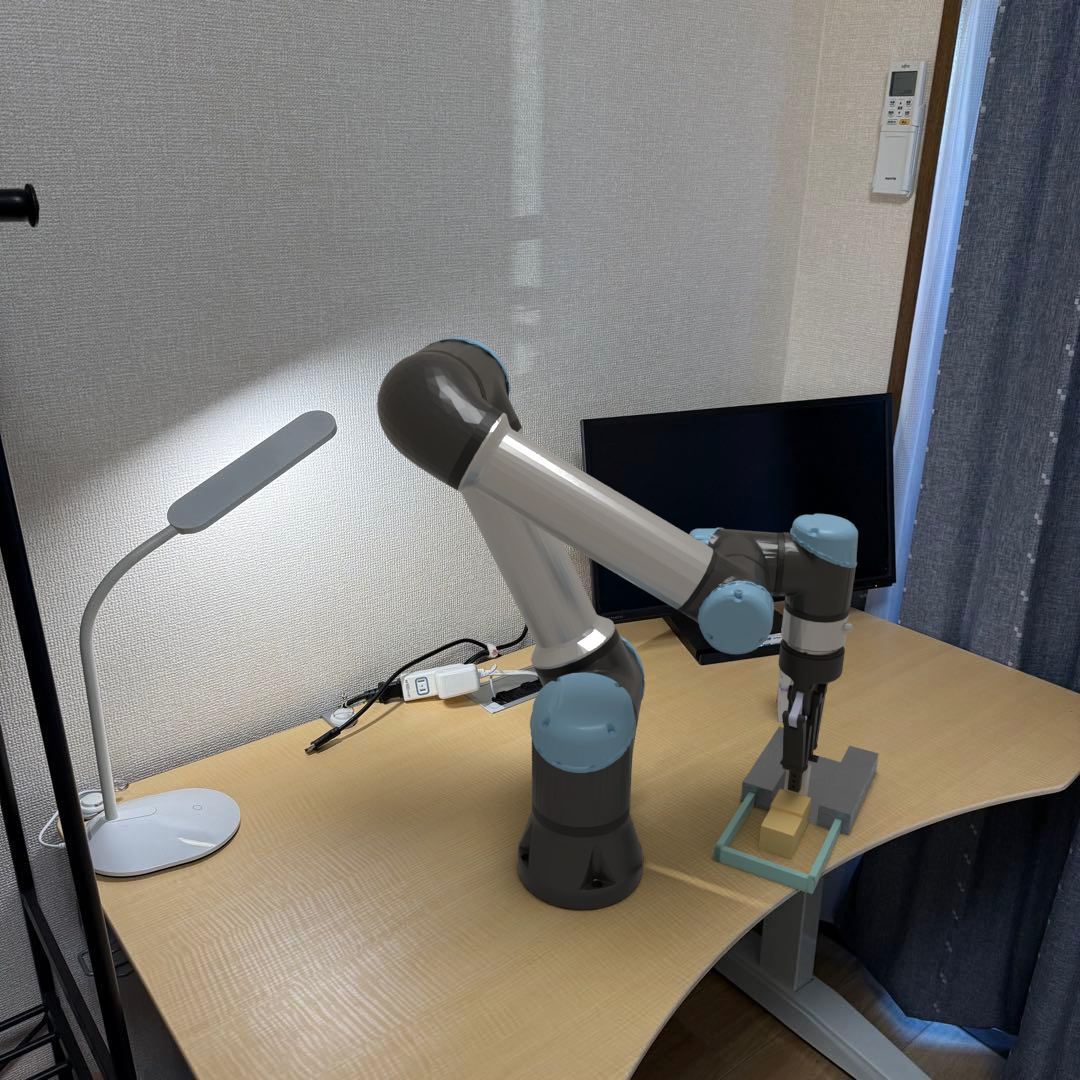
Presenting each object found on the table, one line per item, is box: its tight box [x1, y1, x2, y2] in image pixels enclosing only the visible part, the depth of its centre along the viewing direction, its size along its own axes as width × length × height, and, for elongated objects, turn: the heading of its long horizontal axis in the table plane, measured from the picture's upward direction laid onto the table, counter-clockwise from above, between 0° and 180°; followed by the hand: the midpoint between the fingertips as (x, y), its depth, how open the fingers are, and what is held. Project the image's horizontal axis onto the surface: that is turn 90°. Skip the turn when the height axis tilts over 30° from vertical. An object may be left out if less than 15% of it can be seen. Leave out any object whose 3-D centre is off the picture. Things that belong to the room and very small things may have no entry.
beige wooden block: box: [770, 789, 811, 840], centre depth 121 cm, size 4×4×4 cm
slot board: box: [740, 726, 880, 836], centre depth 130 cm, size 16×14×4 cm
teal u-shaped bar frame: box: [713, 792, 842, 895], centre depth 118 cm, size 13×12×3 cm
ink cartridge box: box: [776, 637, 793, 723], centre depth 147 cm, size 9×5×15 cm, turn 168°
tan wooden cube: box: [758, 808, 803, 860], centre depth 118 cm, size 4×4×4 cm
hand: (794, 806), depth 124 cm, fingers closed
